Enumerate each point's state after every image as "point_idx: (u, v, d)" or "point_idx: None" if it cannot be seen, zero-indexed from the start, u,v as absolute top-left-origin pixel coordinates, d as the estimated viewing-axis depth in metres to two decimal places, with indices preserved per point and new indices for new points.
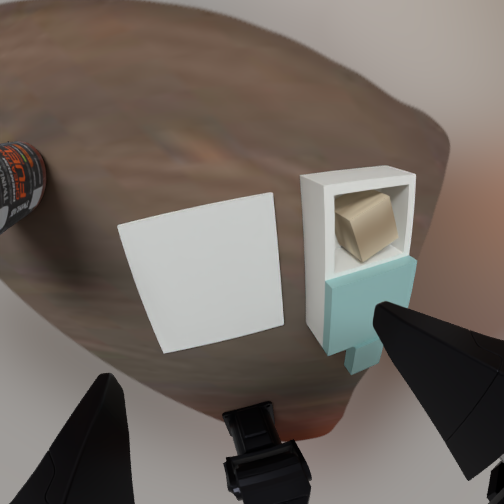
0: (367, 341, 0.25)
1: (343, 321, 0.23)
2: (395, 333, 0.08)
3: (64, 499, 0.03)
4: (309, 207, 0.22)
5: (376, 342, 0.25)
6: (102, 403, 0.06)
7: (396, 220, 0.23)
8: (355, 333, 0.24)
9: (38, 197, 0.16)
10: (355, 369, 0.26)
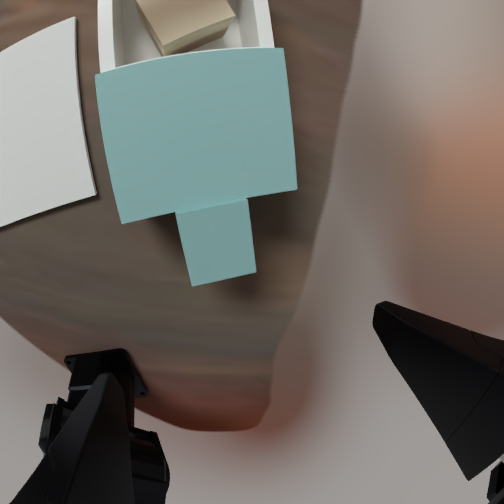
0: (206, 205, 0.14)
1: (130, 142, 0.11)
2: (395, 333, 0.08)
3: (64, 499, 0.03)
4: None
5: (225, 210, 0.14)
6: (102, 403, 0.06)
7: (247, 14, 0.12)
8: (166, 176, 0.13)
9: None
10: (199, 275, 0.15)
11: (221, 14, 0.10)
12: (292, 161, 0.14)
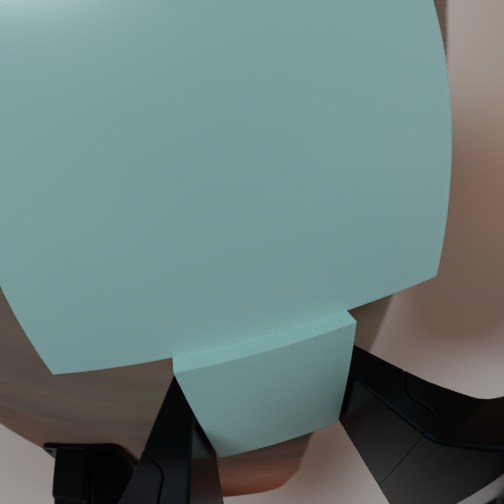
0: (254, 340, 0.05)
1: (19, 177, 0.03)
2: None
3: (183, 503, 0.03)
4: None
5: (303, 350, 0.05)
6: None
7: None
8: (136, 277, 0.04)
9: None
10: (233, 446, 0.06)
11: None
12: (443, 218, 0.05)
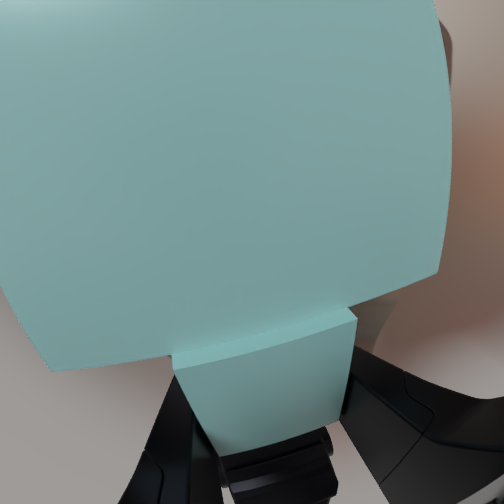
0: (254, 337, 0.05)
1: (19, 172, 0.03)
2: None
3: (182, 503, 0.03)
4: None
5: (304, 348, 0.05)
6: None
7: None
8: (135, 272, 0.04)
9: None
10: (233, 445, 0.06)
11: None
12: (443, 215, 0.05)
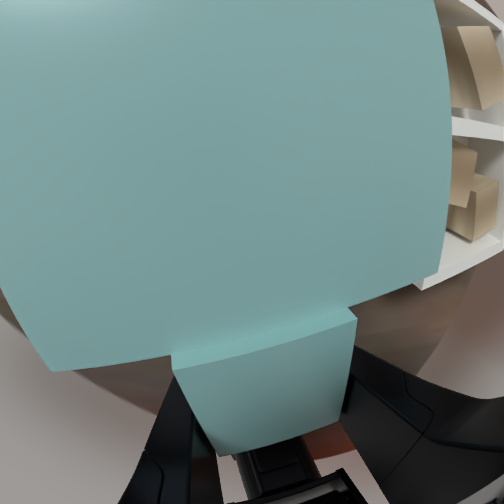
0: (254, 337, 0.05)
1: (18, 171, 0.03)
2: None
3: (183, 503, 0.03)
4: None
5: (304, 348, 0.05)
6: None
7: None
8: (135, 272, 0.04)
9: None
10: (232, 445, 0.06)
11: None
12: (444, 215, 0.05)
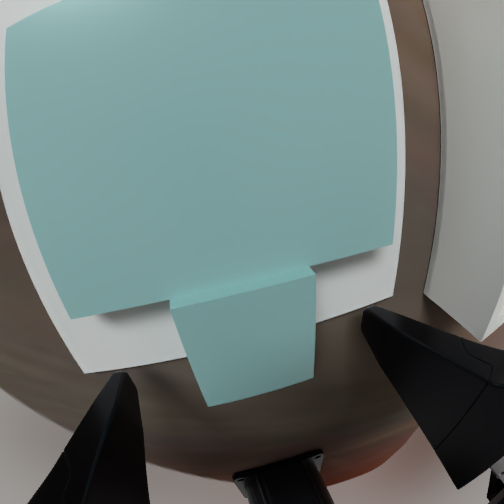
0: (233, 286, 0.07)
1: (62, 157, 0.05)
2: (383, 339, 0.08)
3: (82, 502, 0.03)
4: None
5: (272, 295, 0.07)
6: (118, 401, 0.06)
7: None
8: (145, 231, 0.06)
9: None
10: (219, 393, 0.08)
11: None
12: (393, 194, 0.07)
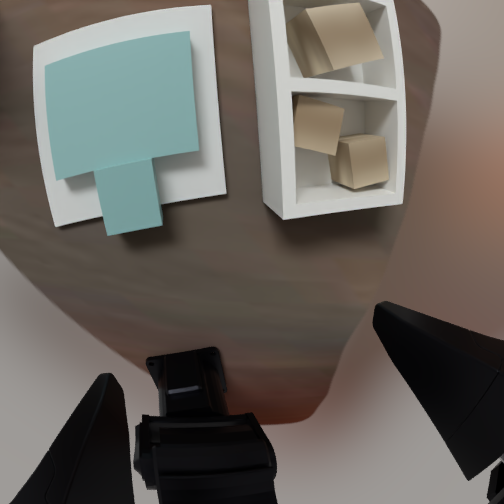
0: (119, 164, 0.15)
1: (64, 115, 0.12)
2: (395, 333, 0.08)
3: (64, 500, 0.03)
4: (255, 14, 0.13)
5: (133, 167, 0.15)
6: (102, 403, 0.06)
7: None
8: (89, 141, 0.13)
9: None
10: (112, 225, 0.16)
11: (374, 54, 0.13)
12: (194, 125, 0.15)
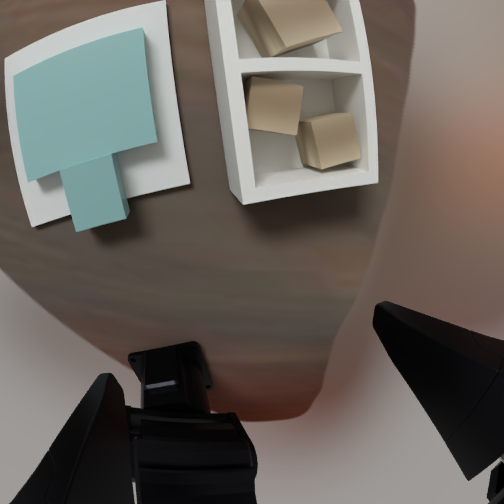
0: (82, 162, 0.14)
1: (32, 120, 0.12)
2: (395, 333, 0.08)
3: (64, 500, 0.03)
4: (208, 3, 0.12)
5: (94, 163, 0.14)
6: (102, 403, 0.06)
7: (342, 29, 0.13)
8: (55, 142, 0.13)
9: None
10: (80, 221, 0.15)
11: (332, 27, 0.12)
12: (151, 117, 0.14)
